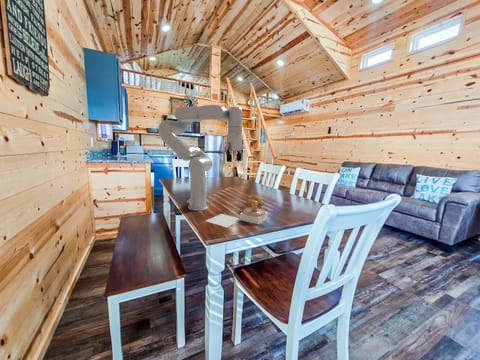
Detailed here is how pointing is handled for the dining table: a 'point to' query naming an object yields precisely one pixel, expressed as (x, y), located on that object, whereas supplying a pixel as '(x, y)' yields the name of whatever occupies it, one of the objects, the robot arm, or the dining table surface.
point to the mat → (223, 220)
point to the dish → (253, 218)
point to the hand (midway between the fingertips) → (234, 161)
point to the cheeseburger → (249, 202)
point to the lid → (254, 210)
